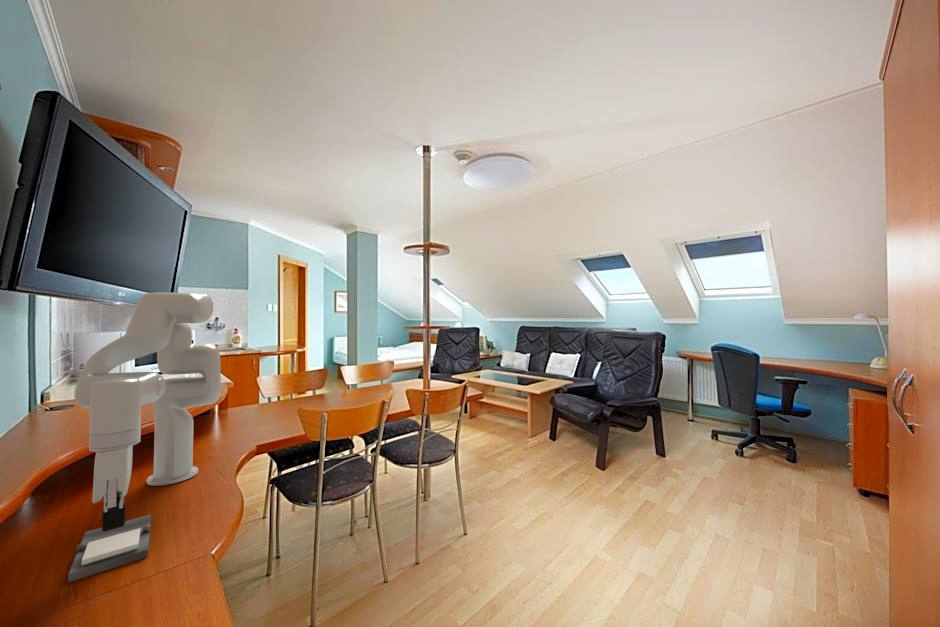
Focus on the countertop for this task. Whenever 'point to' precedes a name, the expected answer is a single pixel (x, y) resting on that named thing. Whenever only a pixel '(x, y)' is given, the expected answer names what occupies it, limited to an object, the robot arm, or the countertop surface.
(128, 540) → the tile
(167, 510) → the countertop surface
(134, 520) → the board
